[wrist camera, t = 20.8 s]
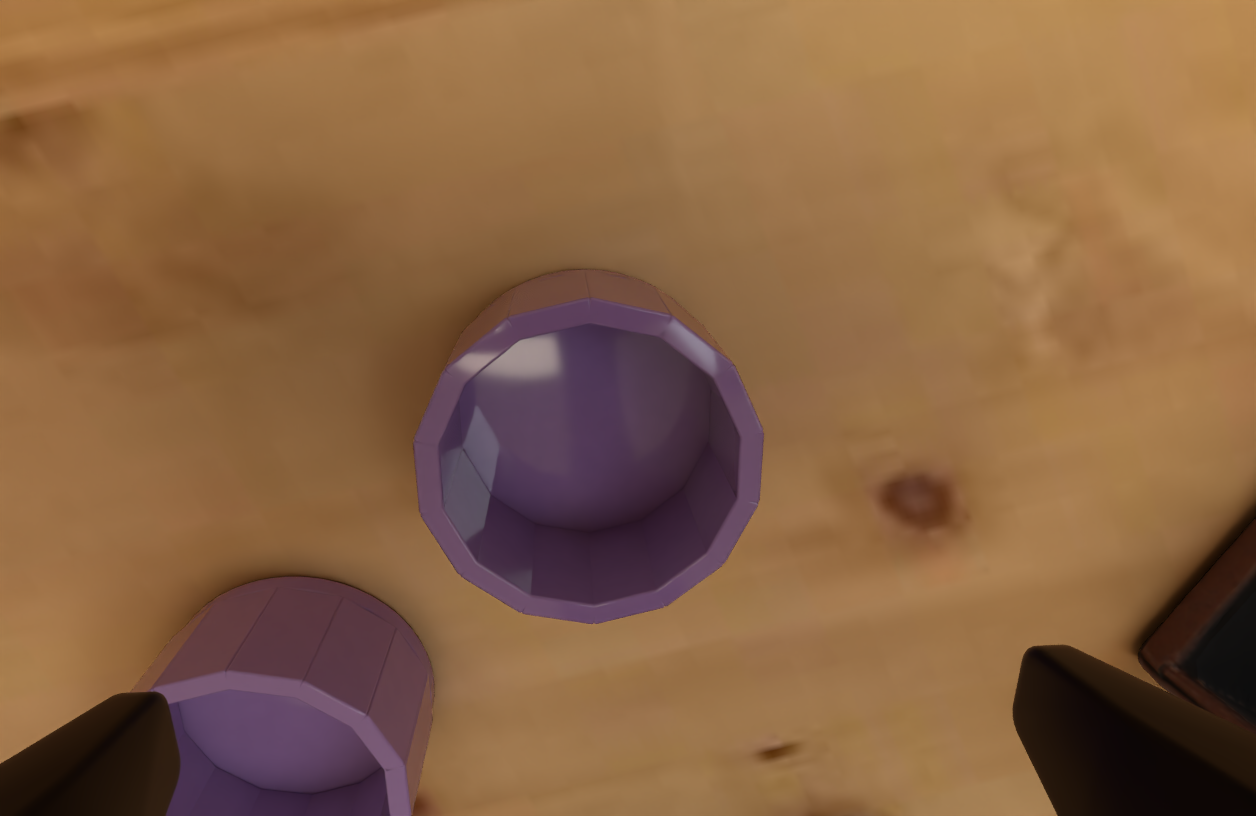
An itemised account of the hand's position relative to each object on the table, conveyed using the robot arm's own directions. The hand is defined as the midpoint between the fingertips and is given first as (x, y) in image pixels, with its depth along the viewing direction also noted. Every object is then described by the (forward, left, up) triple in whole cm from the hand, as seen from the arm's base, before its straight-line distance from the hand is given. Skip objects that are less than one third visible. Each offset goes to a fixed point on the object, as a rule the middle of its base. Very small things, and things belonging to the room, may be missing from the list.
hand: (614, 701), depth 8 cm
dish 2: (0, 0, -10) cm, 10 cm away
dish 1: (+7, +7, -10) cm, 14 cm away
